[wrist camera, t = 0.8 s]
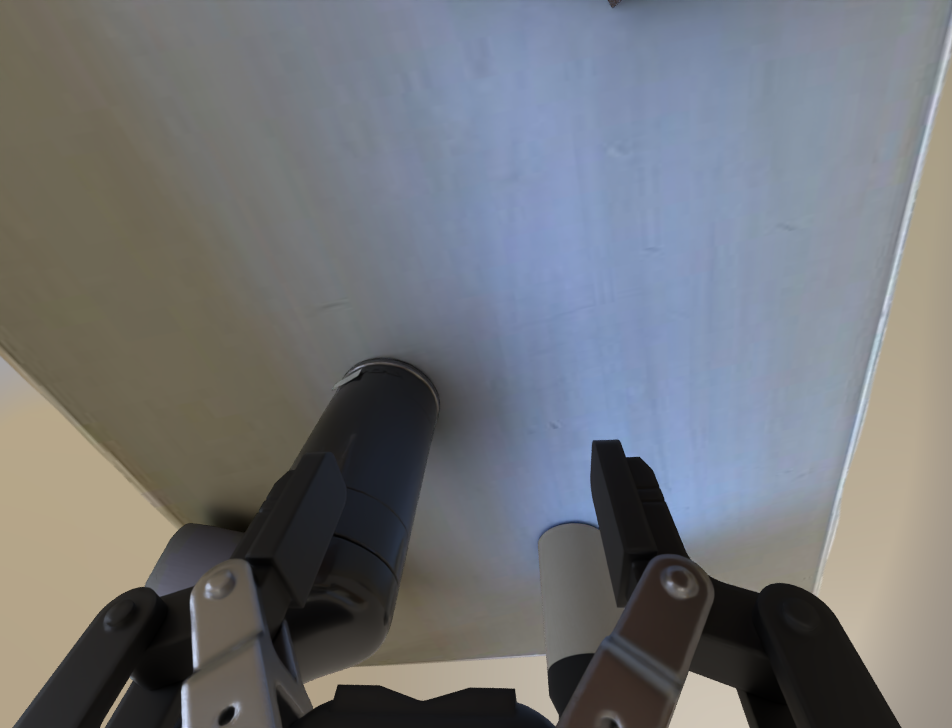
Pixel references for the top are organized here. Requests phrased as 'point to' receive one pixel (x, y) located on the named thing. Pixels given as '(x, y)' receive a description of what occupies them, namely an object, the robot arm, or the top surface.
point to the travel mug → (574, 604)
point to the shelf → (613, 2)
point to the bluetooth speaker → (191, 556)
